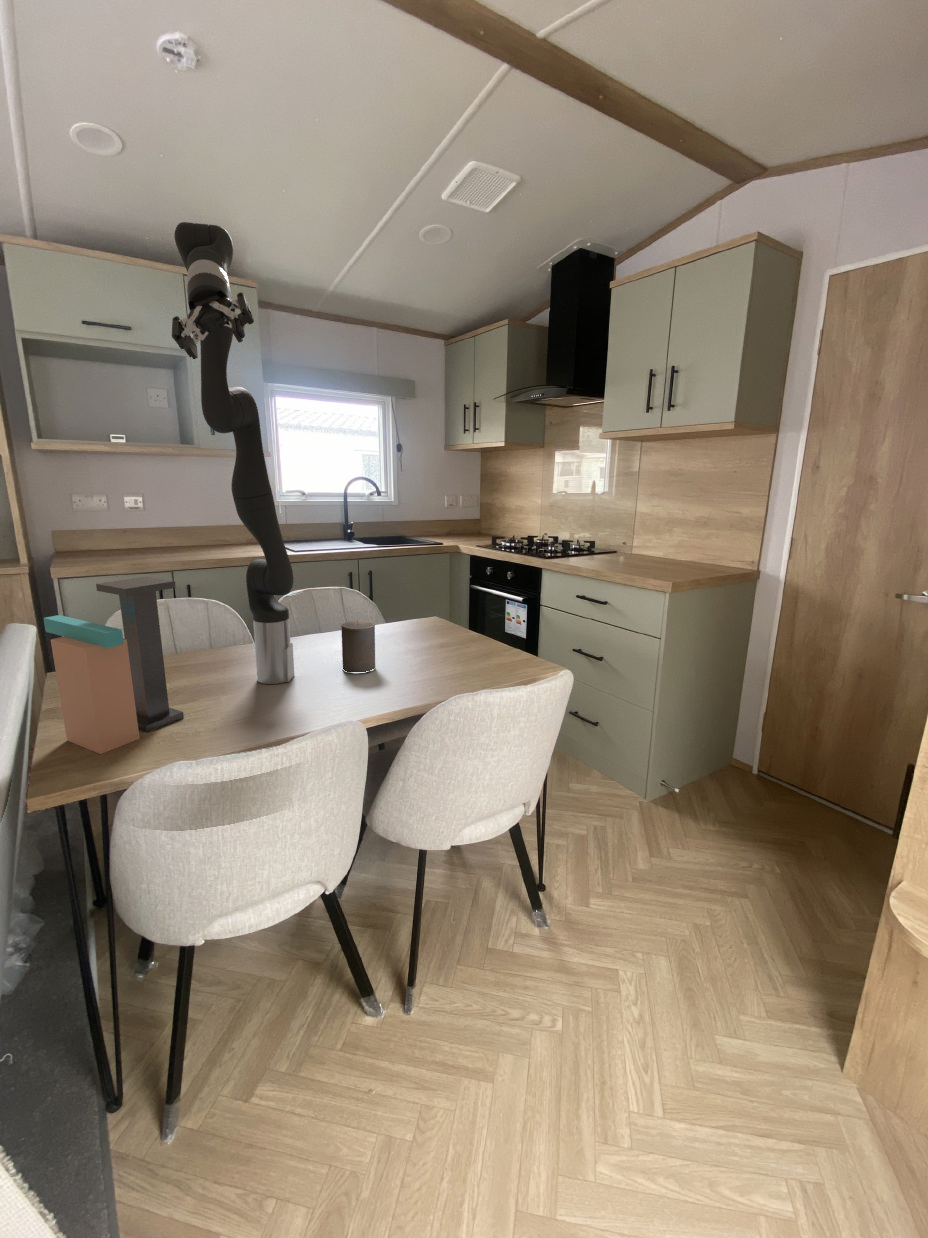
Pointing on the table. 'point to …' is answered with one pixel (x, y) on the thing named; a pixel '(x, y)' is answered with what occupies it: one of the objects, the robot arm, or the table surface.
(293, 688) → the table surface
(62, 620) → the teal bar
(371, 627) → the pillar candle
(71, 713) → the base block
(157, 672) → the stand
